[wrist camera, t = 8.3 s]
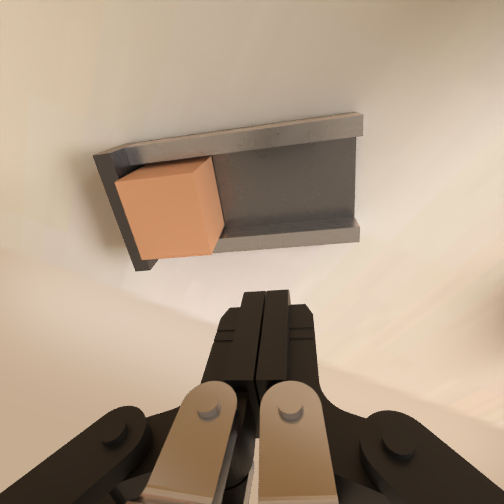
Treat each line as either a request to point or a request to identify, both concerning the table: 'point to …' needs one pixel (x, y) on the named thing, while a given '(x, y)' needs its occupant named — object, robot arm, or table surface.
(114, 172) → the chute
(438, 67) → the table surface
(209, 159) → the block
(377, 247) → the table surface
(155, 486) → the robot arm
